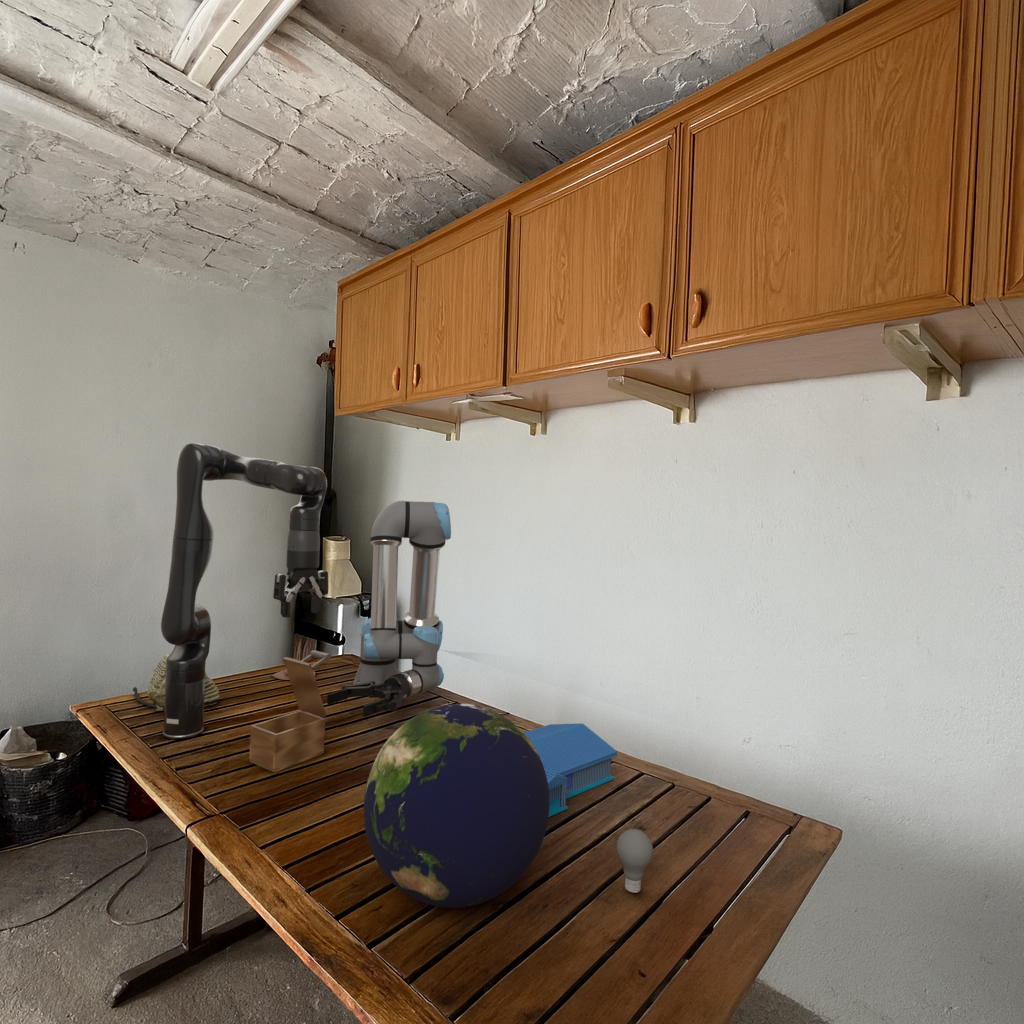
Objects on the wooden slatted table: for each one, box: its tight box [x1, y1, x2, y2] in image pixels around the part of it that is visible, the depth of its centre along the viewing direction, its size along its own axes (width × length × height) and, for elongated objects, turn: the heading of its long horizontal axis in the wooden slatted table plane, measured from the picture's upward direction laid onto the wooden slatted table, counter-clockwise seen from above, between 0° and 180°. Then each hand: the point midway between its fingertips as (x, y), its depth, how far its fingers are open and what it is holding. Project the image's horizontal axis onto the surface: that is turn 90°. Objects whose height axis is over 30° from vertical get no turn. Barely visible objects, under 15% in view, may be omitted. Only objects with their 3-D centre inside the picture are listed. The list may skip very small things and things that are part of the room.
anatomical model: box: [272, 662, 316, 681], centre depth 220 cm, size 13×4×12 cm
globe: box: [363, 703, 550, 909], centre depth 103 cm, size 30×30×30 cm
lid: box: [282, 649, 332, 719], centre depth 159 cm, size 15×10×8 cm
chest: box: [248, 710, 326, 773], centre depth 153 cm, size 14×10×9 cm
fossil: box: [147, 654, 221, 712], centre depth 185 cm, size 9×18×15 cm, turn 132°
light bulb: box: [615, 828, 654, 894], centre depth 106 cm, size 6×6×10 cm
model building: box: [523, 722, 618, 818], centre depth 142 cm, size 39×24×10 cm, turn 132°
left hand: (300, 615), depth 154 cm, fingers open, 8 cm apart
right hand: (345, 705), depth 167 cm, fingers open, 13 cm apart
